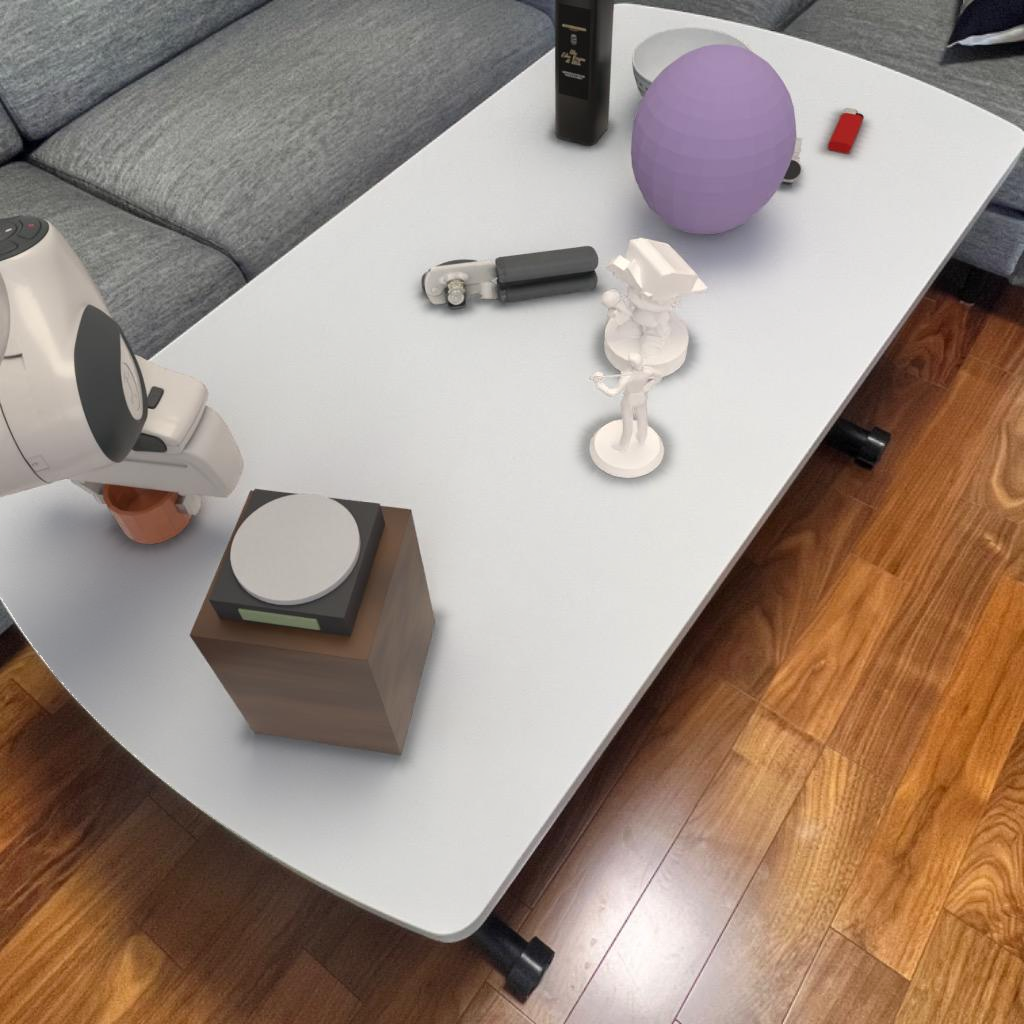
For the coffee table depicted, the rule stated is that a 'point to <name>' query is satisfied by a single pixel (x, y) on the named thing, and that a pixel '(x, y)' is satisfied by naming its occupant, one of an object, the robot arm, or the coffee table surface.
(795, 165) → the wristwatch
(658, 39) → the chinaware
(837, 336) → the coffee table surface
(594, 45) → the black tall square bottle
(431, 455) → the coffee table surface
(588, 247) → the can opener
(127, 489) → the bowl
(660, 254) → the character figurine
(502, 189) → the coffee table surface
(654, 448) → the figurine
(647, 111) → the purple ovoid
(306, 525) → the scale
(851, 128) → the lighter
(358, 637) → the wooden block
